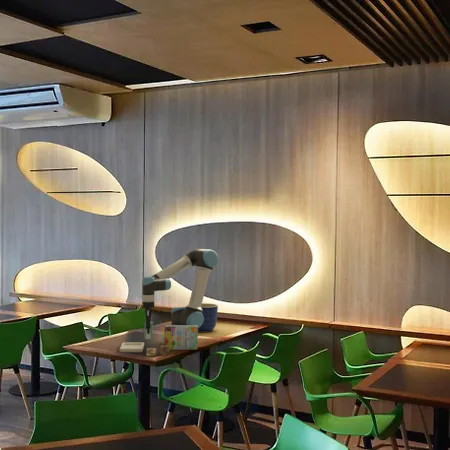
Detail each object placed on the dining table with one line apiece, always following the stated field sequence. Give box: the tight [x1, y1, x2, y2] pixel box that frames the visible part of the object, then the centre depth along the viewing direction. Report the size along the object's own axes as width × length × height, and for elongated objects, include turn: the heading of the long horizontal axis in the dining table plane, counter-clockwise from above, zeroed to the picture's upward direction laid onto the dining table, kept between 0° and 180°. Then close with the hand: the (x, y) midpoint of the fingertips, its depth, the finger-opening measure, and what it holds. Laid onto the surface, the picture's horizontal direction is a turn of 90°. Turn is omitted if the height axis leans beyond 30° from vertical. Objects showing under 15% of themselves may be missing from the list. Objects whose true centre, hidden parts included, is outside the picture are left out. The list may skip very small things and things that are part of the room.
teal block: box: [143, 321, 154, 340], centre depth 389 cm, size 5×5×10 cm
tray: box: [119, 341, 145, 353], centre depth 392 cm, size 14×20×2 cm
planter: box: [198, 302, 219, 333], centre depth 460 cm, size 21×21×19 cm
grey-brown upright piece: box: [160, 332, 165, 345], centre depth 407 cm, size 6×6×7 cm
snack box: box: [164, 324, 199, 351], centre depth 394 cm, size 21×6×15 cm, turn 92°
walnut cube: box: [159, 345, 171, 356], centre depth 378 cm, size 5×5×5 cm
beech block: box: [146, 347, 157, 357], centre depth 375 cm, size 5×4×4 cm
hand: (148, 337), depth 390 cm, fingers closed on teal block, 5 cm apart
